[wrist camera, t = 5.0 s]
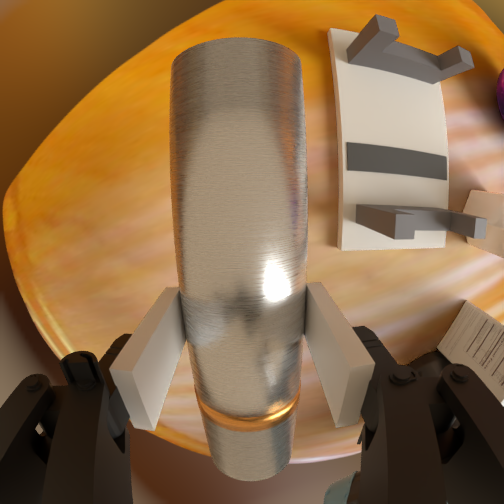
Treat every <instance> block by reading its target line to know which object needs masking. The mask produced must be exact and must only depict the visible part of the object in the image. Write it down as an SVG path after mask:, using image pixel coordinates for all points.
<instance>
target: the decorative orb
mask: <svg viewBox="0 0 504 504" xmlns="http://www.w3.org/2000/svg"><path fill="white" fill-rule="evenodd" d="M497 102H498V106H499V110H500V113H501V115H502V118H503V120H504V69H503V70H502V71H501V73H500V75H499V78H498V82H497Z"/></svg>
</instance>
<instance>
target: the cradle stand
mask: <svg viewBox="0 0 504 504" xmlns="http://www.w3.org/2000/svg"><path fill="white" fill-rule="evenodd" d="M327 36H328V42H329V49H330V57H331V65H332V74H333V83H334V94H335V106H336V121H337V140H338V176H339V204H338V241H337V248H338V249H340V250H341V251H352V250H385V249H417V248H445V240H446V231H452V232H455V233H458V234H461V235H464V236H467V237H470V238H473V239H485V236H486V226H487V219H486V218H482V217H478V216H474V215H469V214H465V213H461V212H456V211H452V210H448V199H449V160H448V141H447V129H446V119H445V111H444V104H443V97H442V91H441V85H440V81H442V80H444V79H447V78H449V77H452V76H454V75H457V74H459V73H462V72H464V71H467V70H470V69H472V68H474V64H473V60H472V57H471V53H470V52H469V51H467V50H465V49H463V48H461V47H460V46H456V47H454V48H452V49H450V50H448V51H447V52H445V53H443V54H441V55H439V56H436V55H433V54H431V53H428V52H425V51H423V50H420V49H417V48H414V47H411V46H408V45H405V44H402V43H399V42H396V41H395V40H396V39H397V38H398V37H399V32H398V29H397V25H396V22H395V20H393V19H390V18H387V17H384V16H380V15H376V14H375V16H374V17H373V18H372V19H371V20H370V21H369V23H368V24H367V25H366V26H365V27H364V28H363V30H362V31H361V32H360V33H356V32H351V31H346V30H340V29H334V28H330V30H329V31H328V33H327Z"/></svg>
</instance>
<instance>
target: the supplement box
mask: <svg viewBox="0 0 504 504" xmlns="http://www.w3.org/2000/svg"><path fill="white" fill-rule="evenodd" d="M437 349H438V350H439V351H440V352H441V353H442V354H443V355H444V356H445V357H446V358H447V359H448V360H449V361H450V362H451V363H452V364H454V363H458V364H463V365H465V366H468V367H469V368H471V369H472V370H473V371H474V372H475V373H476V374H477V375H478V377H479V378H480V379H481V380H482V381H483V382H484V384H485V385H486V386H487V387H488V388H489V389H490V391H491V392H492V393H493V394H494V395H495V397H496V398H497V399H498V400H499V402H500V403H501V404H502V405H503V407H504V326H503V325H502V324H501V323H499V322H498V321H497V320H495V319H494V318H492V317H491V316H490V315H488V314H487V313H485V312H484V311H482V310H481V309H479V308H478V307H476V306H475V305H473V304H472V303H470V302H469V301H467V300H466V302H465V303H464V305H463V307H462V309H461V310H460V312H459V314H458V315H457V317H456V319H455V320H454V322H453V323H452V325H451V327H450V328H449V330H448V331H447V333H446V334H445V336H444V337H443V339H442V340H441V342H440V343H439V345H438V346H437Z"/></svg>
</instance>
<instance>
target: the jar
mask: <svg viewBox="0 0 504 504" xmlns="http://www.w3.org/2000/svg"><path fill="white" fill-rule="evenodd" d="M462 213H465V214H469V215H474V216H478V217H482V218H486V219H487V226H486V236H485V239H473V238H470V237H467V236H466V238H467V242H468V244H469V245H472V246H474V247H477V248H479V249H482V250H485V251H487V252H490V253H492V254H494V255H497V256H499V257H502V258H504V194H501V193H494V192H487V191H479V190H471V191H470V194H469V197H468V199H467V202H466V205H465V207H464V210H463V212H462Z"/></svg>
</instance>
